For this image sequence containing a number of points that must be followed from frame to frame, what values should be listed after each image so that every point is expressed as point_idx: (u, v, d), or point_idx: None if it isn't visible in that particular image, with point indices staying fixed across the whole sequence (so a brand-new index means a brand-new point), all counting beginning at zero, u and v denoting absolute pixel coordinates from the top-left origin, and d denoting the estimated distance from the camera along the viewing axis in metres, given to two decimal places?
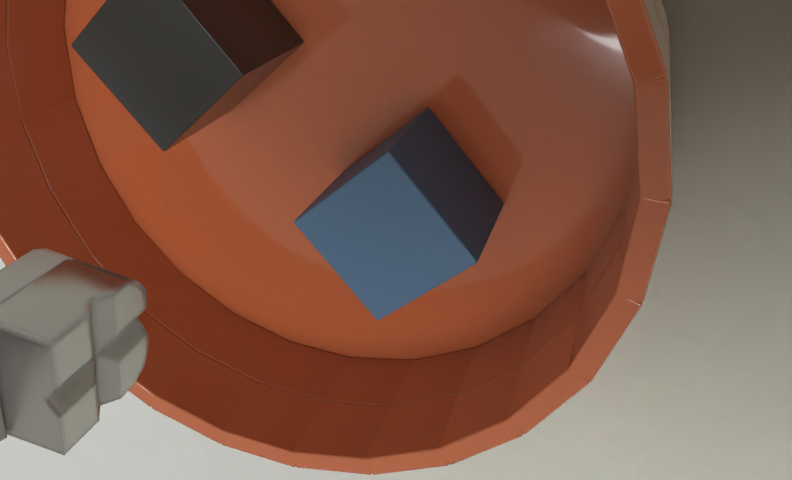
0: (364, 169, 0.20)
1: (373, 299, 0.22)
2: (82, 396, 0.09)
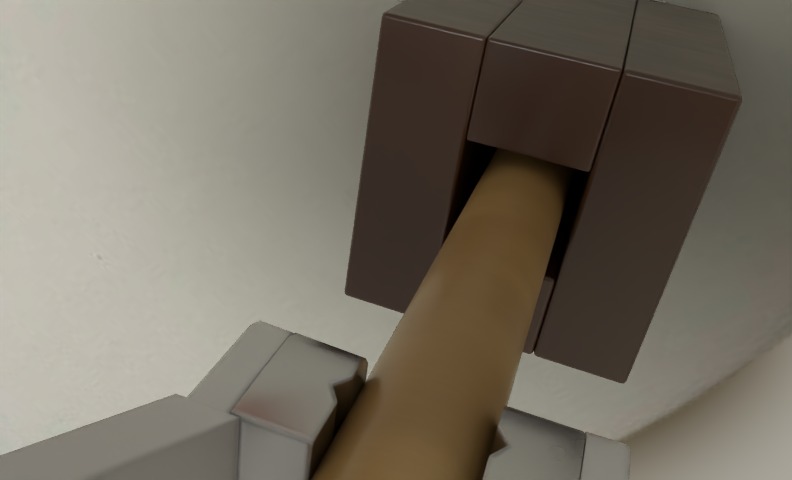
0: None
1: None
2: None
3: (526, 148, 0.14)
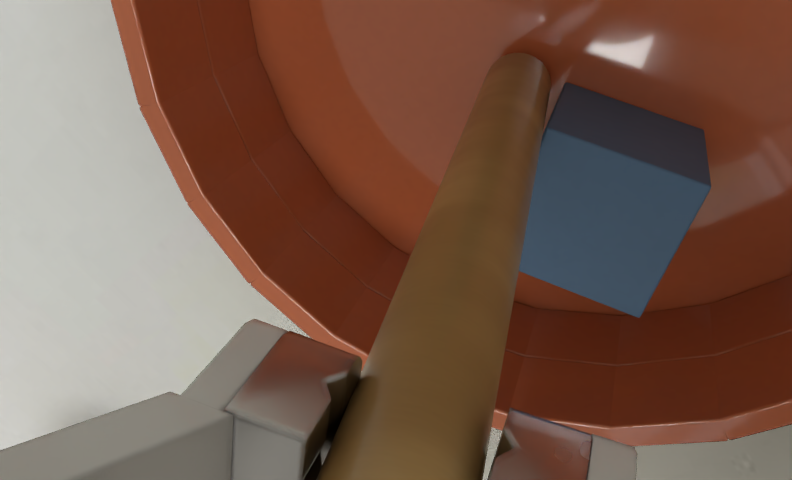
0: (671, 172, 0.17)
1: None
2: None
3: None
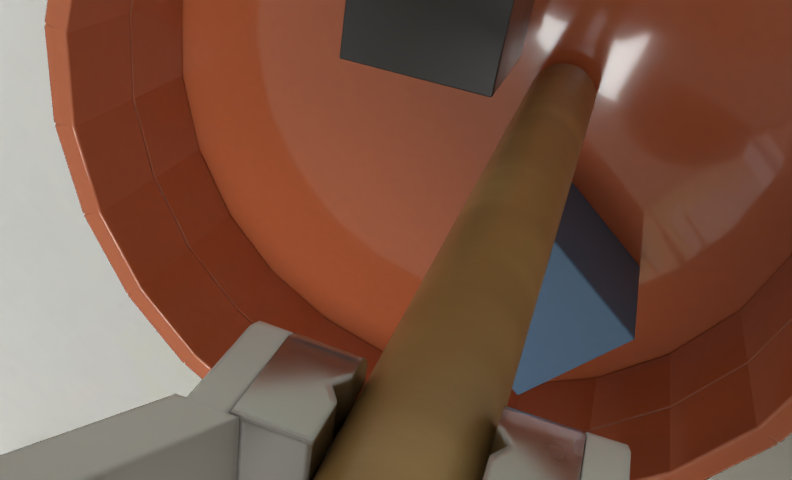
0: (613, 313, 0.19)
1: None
2: None
3: None
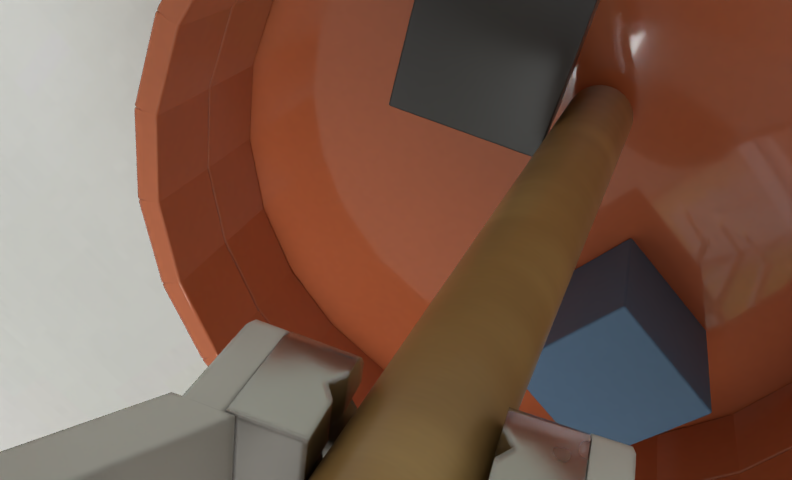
0: (691, 388, 0.20)
1: None
2: None
3: None
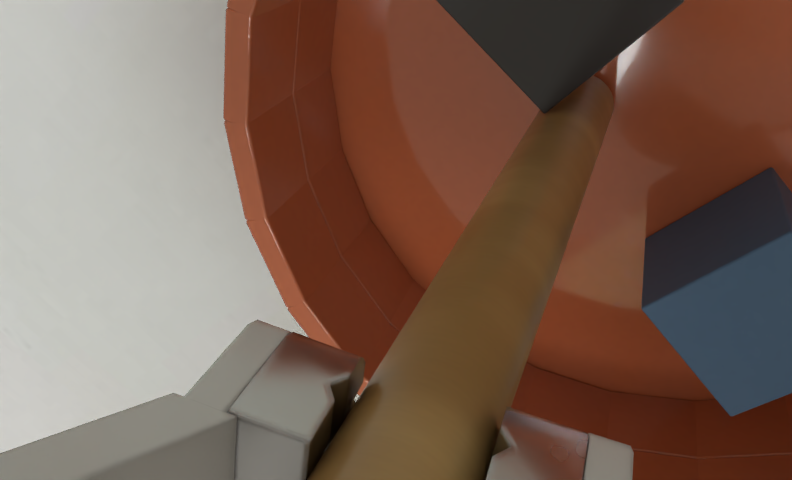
0: None
1: (673, 310, 0.18)
2: None
3: None
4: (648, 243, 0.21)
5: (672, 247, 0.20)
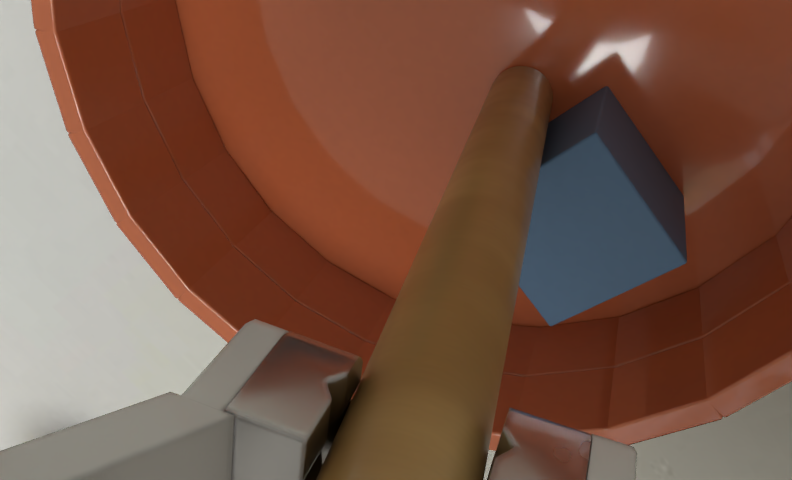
0: (666, 233, 0.17)
1: None
2: None
3: None
4: None
5: None
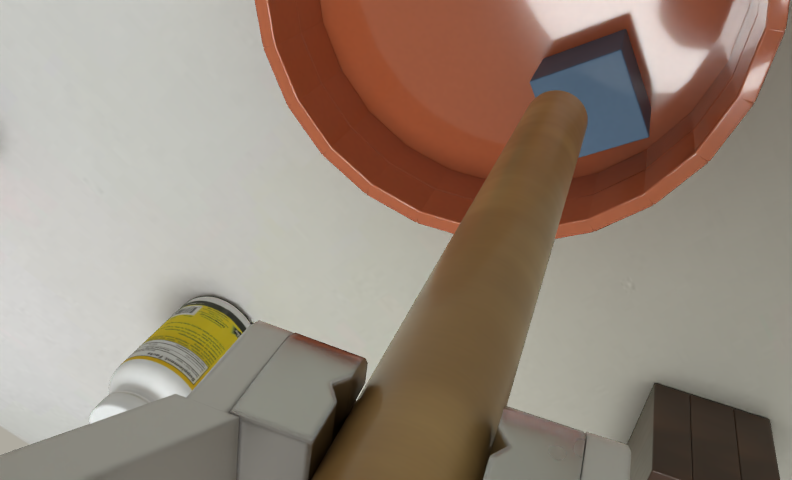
0: (642, 117, 0.31)
1: (547, 86, 0.31)
2: None
3: None
4: (544, 60, 0.34)
5: (557, 60, 0.33)
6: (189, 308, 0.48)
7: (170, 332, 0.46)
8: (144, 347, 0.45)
